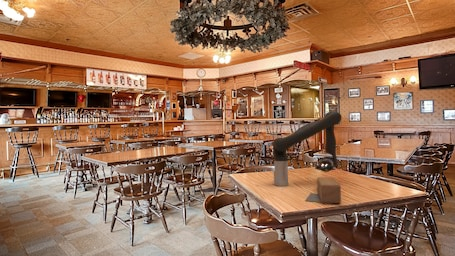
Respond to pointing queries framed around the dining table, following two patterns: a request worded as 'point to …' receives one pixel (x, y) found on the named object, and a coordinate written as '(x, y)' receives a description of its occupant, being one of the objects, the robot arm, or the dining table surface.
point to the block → (328, 190)
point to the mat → (314, 198)
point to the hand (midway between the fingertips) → (322, 169)
